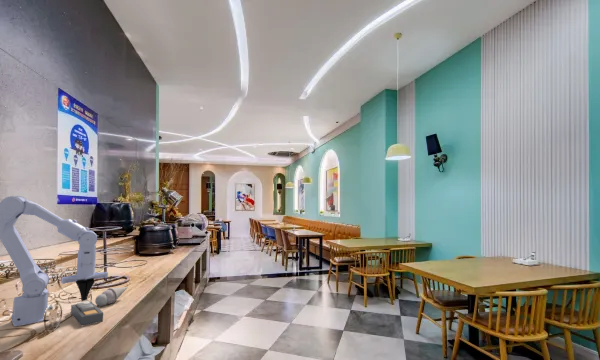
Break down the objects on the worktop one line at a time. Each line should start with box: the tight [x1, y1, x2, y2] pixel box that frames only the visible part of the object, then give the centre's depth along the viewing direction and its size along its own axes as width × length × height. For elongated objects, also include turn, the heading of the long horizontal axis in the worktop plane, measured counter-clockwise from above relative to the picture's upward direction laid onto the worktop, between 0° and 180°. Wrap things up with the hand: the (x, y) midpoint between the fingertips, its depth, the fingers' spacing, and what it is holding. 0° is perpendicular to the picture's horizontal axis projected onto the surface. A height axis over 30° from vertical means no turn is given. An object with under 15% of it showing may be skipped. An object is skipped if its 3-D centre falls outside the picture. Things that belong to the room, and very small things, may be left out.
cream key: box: [76, 300, 91, 308], centre depth 121 cm, size 4×4×1 cm
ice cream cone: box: [94, 286, 129, 307], centre depth 135 cm, size 6×6×15 cm
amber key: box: [83, 310, 98, 315], centre depth 114 cm, size 4×4×1 cm
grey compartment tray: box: [70, 301, 104, 327], centre depth 118 cm, size 6×16×3 cm, turn 45°
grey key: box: [80, 304, 94, 311], centre depth 118 cm, size 4×4×1 cm
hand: (83, 299), depth 121 cm, fingers closed
